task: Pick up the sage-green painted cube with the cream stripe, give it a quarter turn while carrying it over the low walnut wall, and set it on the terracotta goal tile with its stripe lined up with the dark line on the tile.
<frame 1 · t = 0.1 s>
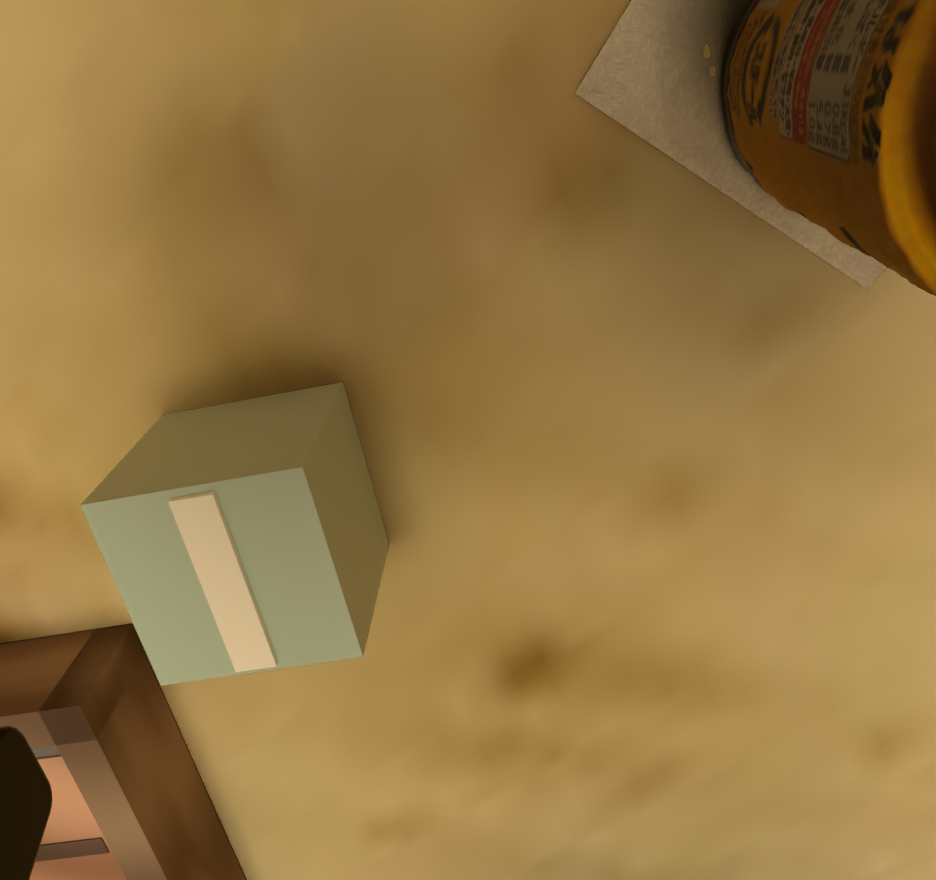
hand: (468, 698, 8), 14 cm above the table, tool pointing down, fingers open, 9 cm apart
condiment: (827, 47, 19), on the table
cube: (279, 480, 24), on the table
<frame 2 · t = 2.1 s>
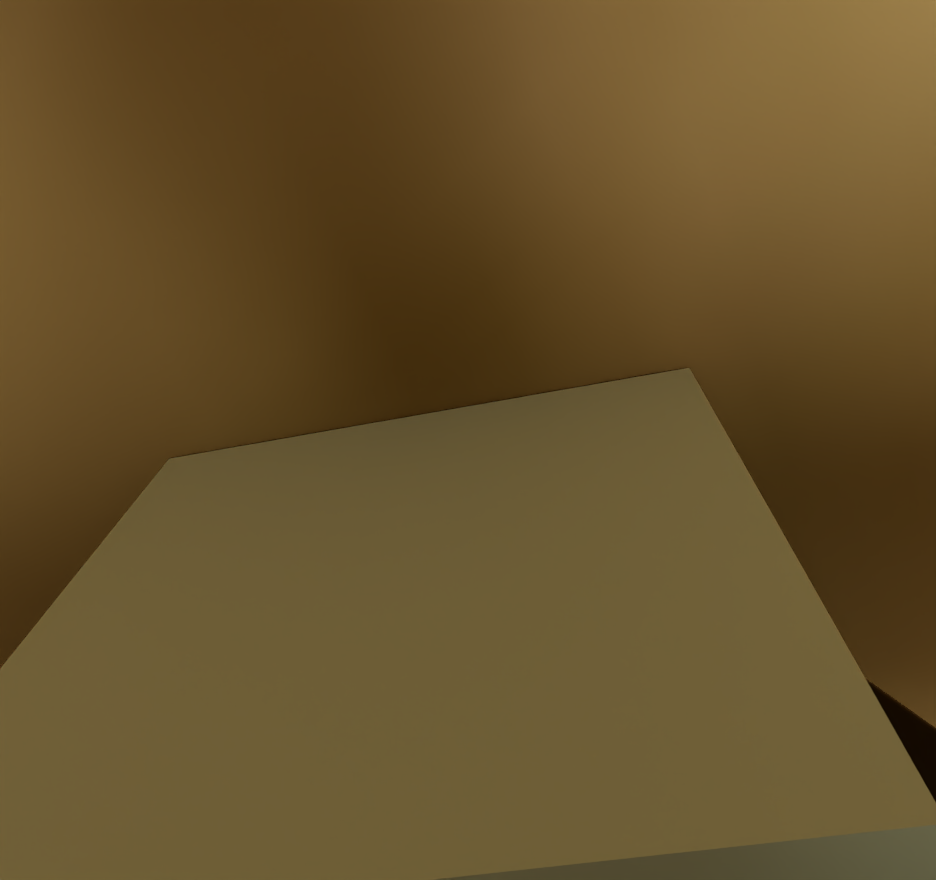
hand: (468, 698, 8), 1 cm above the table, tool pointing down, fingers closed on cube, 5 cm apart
cube: (472, 629, 9), on the table, touching gripper
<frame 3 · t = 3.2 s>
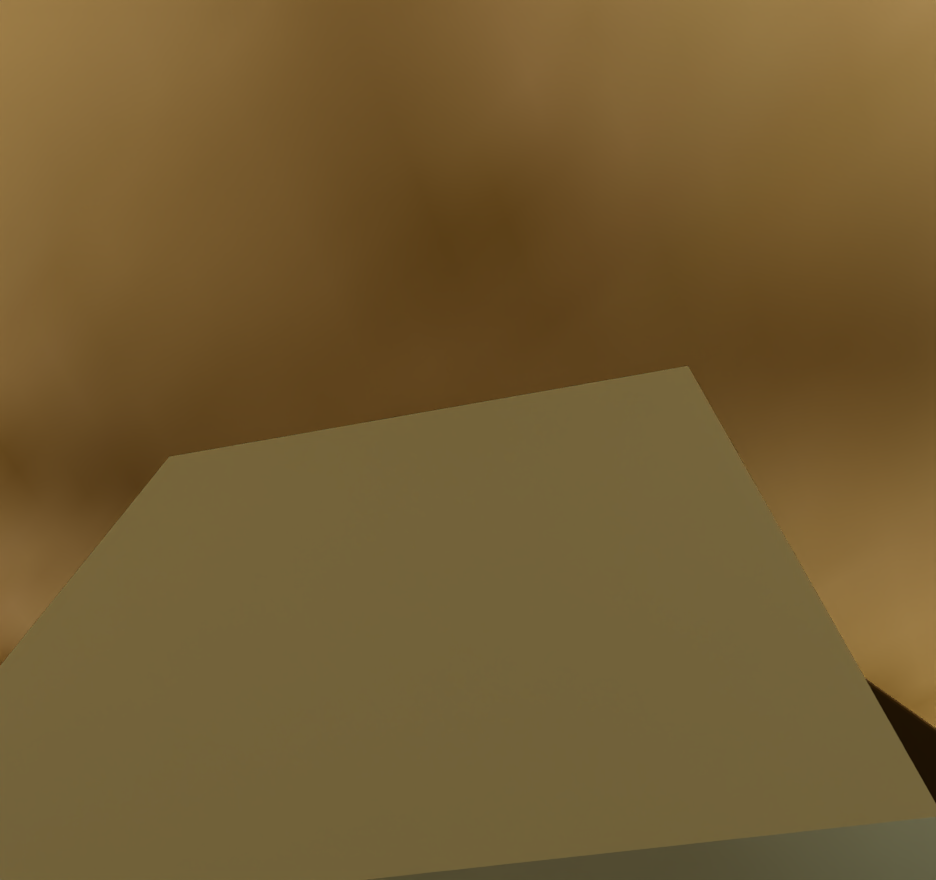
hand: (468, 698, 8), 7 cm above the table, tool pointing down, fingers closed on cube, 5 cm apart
cube: (472, 627, 9), point 6 cm above the table, touching gripper
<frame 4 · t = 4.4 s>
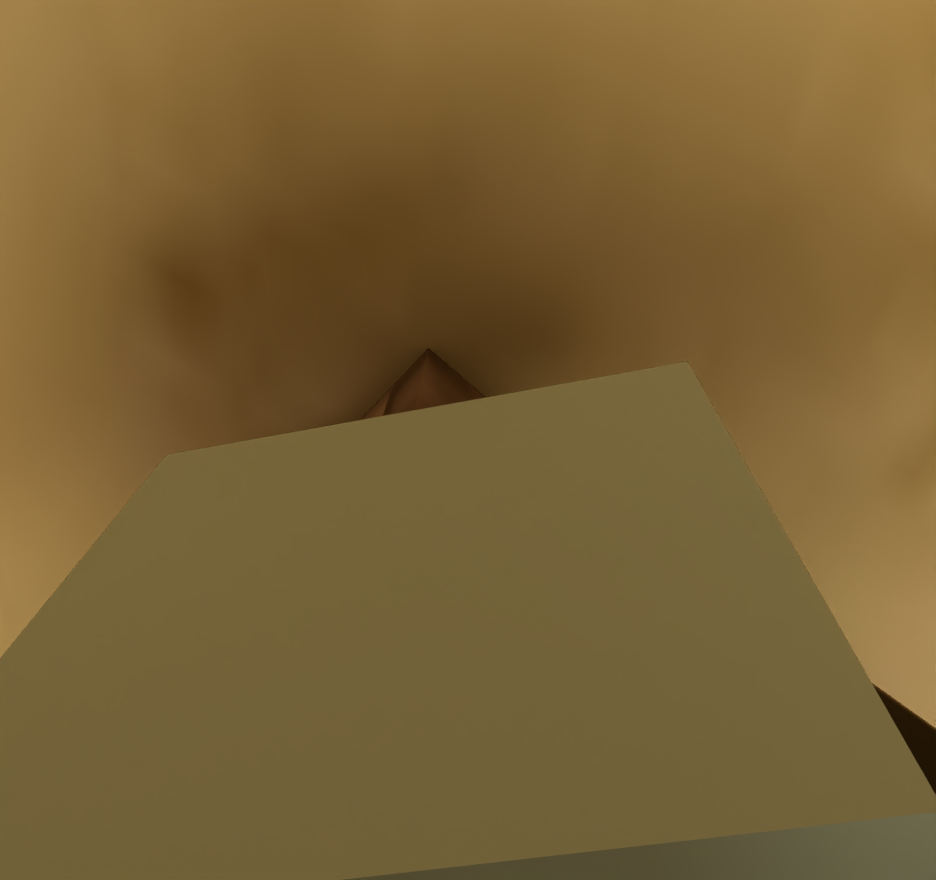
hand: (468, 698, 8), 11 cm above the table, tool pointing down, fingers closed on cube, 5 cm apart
arena: (454, 762, 23), on the table
cube: (471, 625, 9), point 10 cm above the table, touching gripper
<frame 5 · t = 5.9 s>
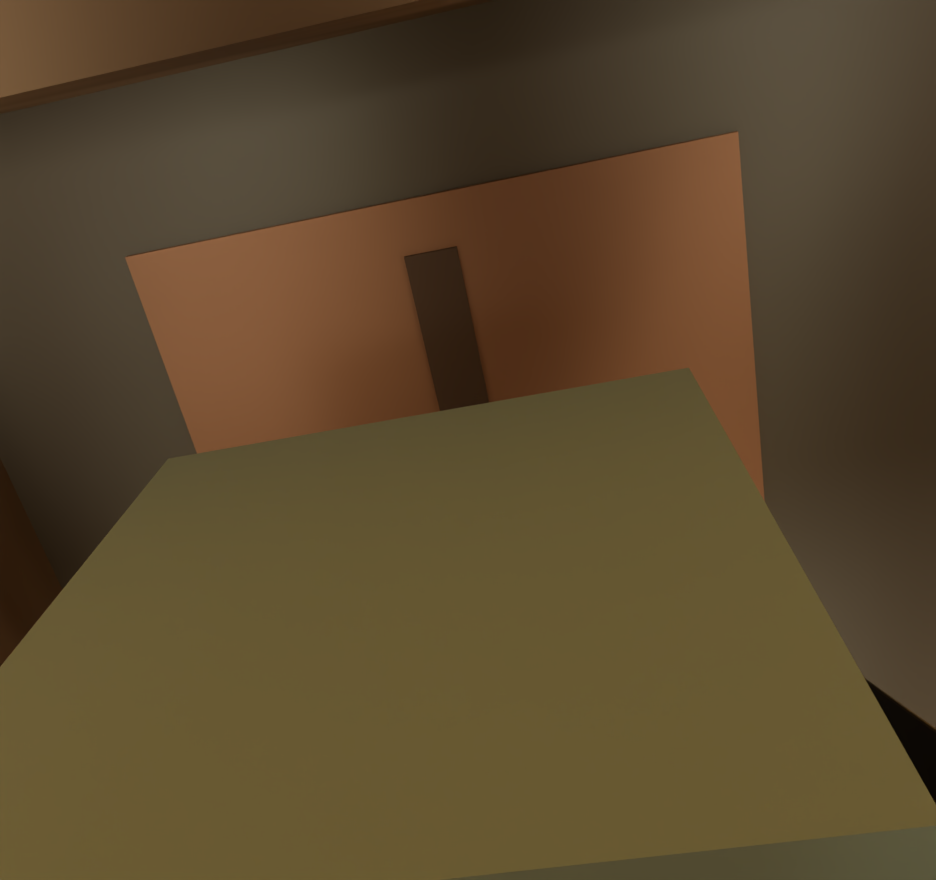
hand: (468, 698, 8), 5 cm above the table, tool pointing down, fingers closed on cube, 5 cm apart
arena: (492, 515, 13), on the table
cube: (472, 629, 9), point 4 cm above the table, touching gripper
when the fingers open (3 cm above the table, at t = 6.8 s): cube drops 1 cm, resting on arena.
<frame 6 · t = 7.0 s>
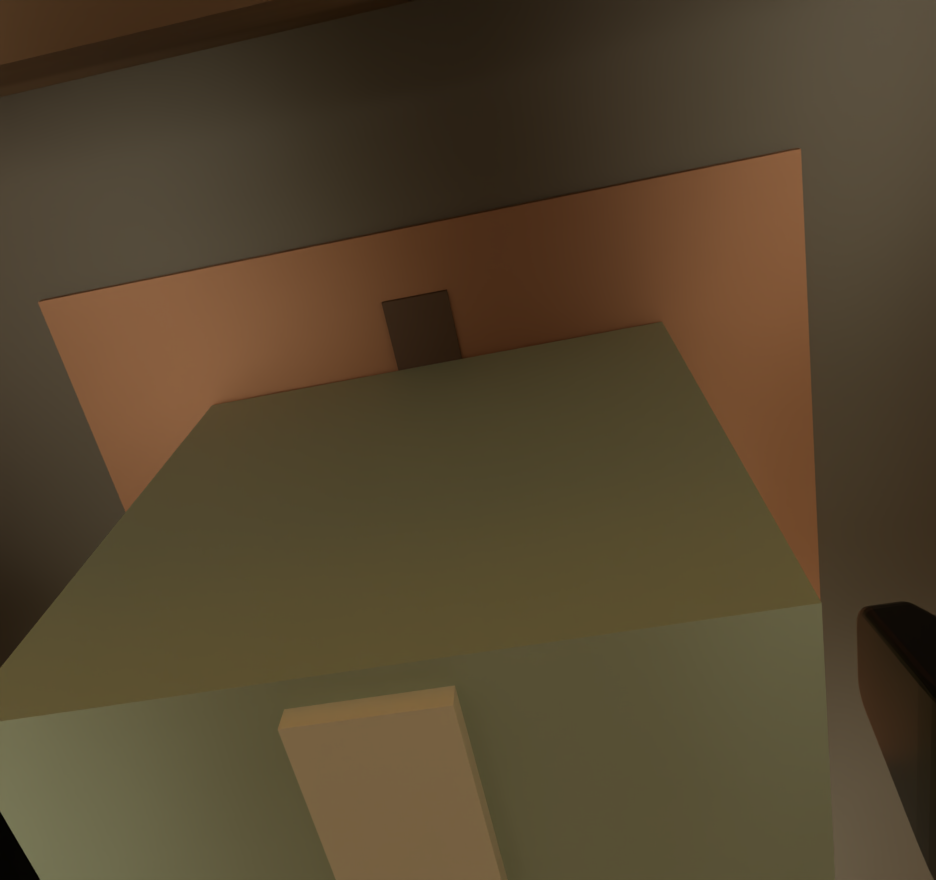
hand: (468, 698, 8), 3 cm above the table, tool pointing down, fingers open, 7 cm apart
arena: (492, 601, 11), on the table
cube: (476, 558, 10), point 1 cm above the table, touching arena
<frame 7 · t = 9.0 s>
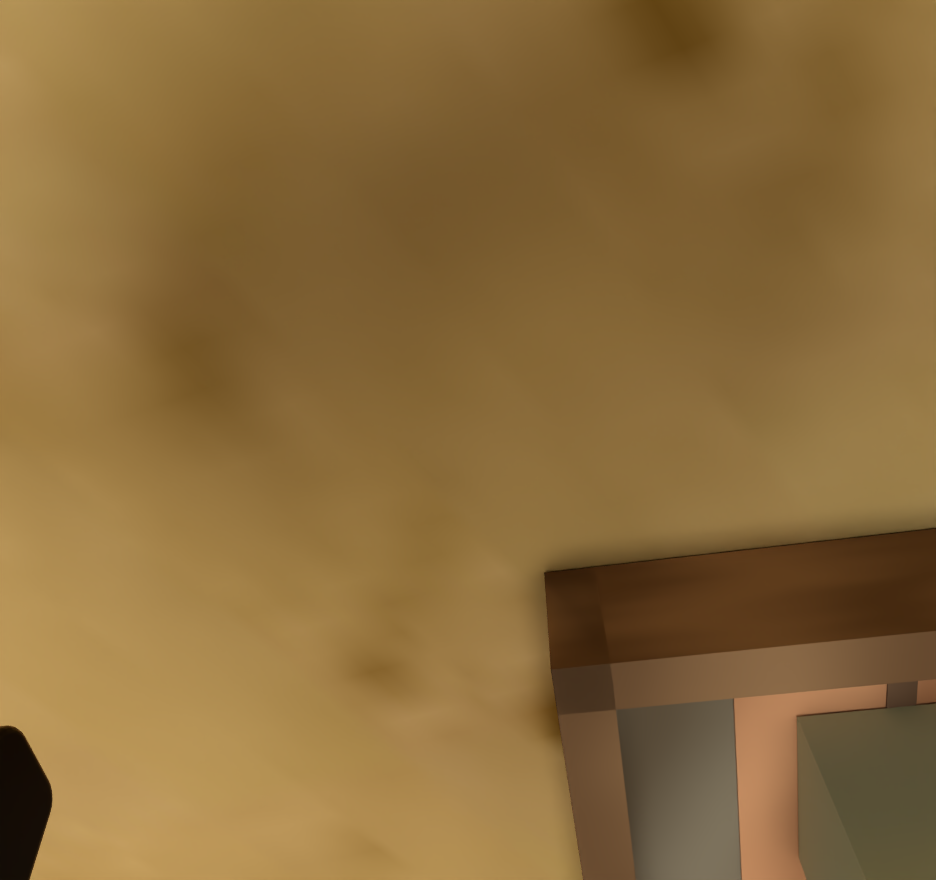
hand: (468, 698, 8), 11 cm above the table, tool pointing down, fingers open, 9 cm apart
arena: (886, 794, 23), on the table
cube: (897, 781, 22), point 1 cm above the table, touching arena
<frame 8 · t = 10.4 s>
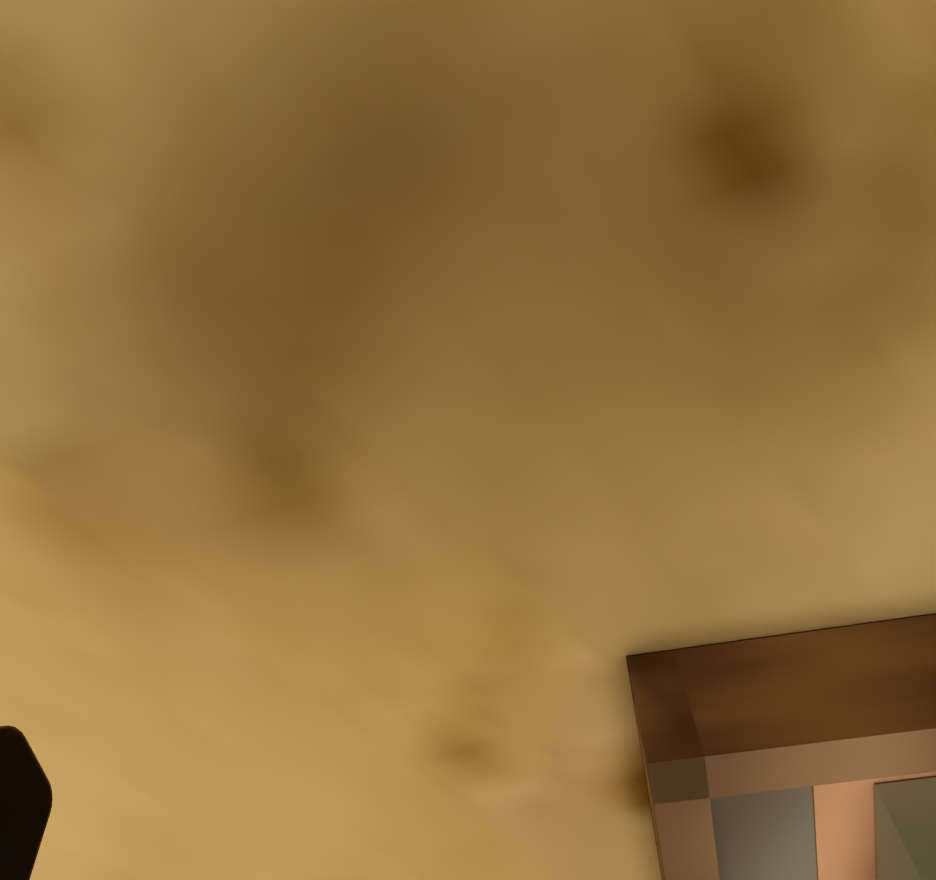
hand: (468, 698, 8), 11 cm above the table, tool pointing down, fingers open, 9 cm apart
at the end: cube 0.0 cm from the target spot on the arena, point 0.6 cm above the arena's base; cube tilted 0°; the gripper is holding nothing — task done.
